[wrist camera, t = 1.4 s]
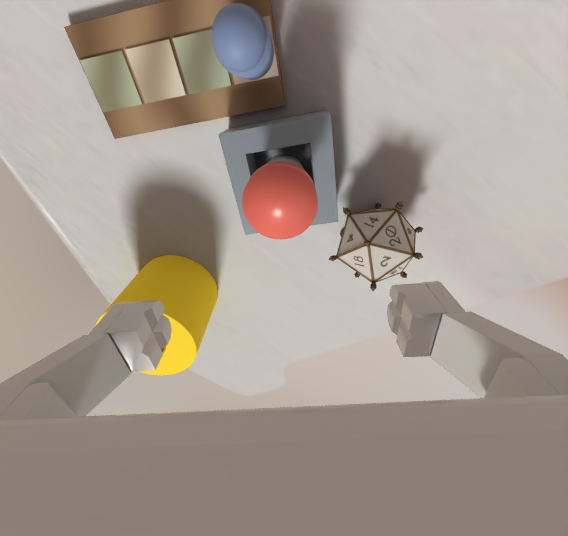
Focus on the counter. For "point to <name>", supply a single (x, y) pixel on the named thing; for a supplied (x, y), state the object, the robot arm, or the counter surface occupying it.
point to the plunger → (280, 198)
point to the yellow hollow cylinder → (175, 305)
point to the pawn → (242, 41)
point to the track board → (168, 67)
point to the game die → (377, 243)
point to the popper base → (278, 135)
